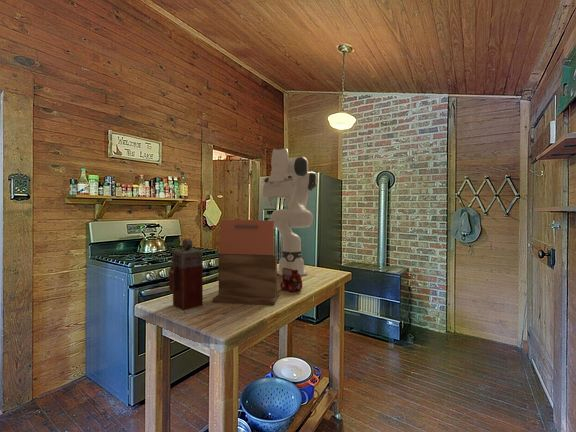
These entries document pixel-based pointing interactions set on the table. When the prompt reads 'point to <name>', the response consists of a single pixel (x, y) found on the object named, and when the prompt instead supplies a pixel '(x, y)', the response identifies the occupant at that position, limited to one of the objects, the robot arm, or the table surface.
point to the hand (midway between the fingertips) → (278, 206)
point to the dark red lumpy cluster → (291, 280)
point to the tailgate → (247, 237)
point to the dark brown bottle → (186, 277)
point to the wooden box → (247, 279)
